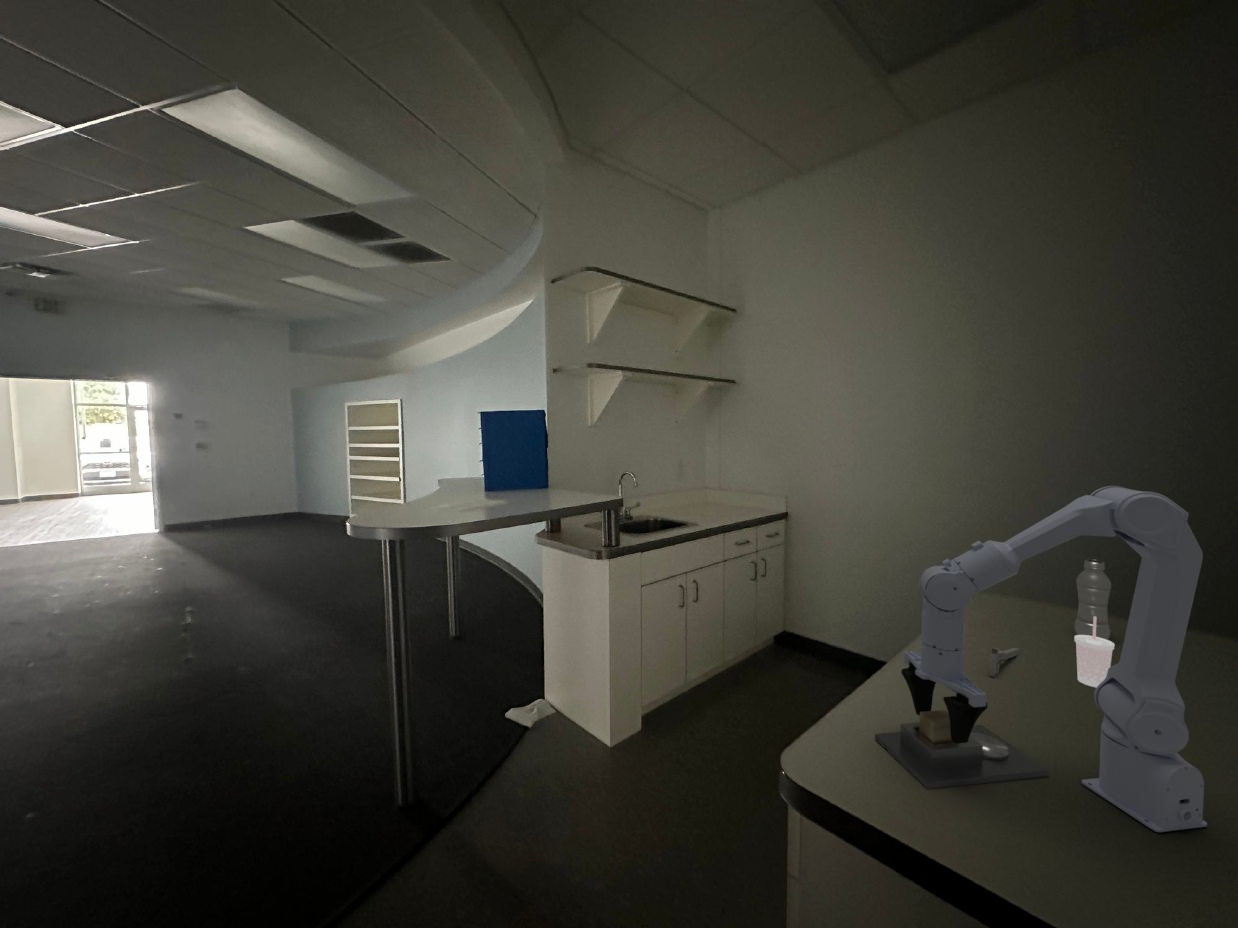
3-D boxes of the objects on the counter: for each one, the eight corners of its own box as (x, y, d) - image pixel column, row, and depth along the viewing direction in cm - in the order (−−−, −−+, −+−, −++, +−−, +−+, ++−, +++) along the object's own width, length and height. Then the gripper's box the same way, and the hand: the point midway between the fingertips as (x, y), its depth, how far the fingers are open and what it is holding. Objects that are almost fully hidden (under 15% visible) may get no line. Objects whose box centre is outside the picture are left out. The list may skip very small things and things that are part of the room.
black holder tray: (1048, 776, 75) (1049, 750, 75) (927, 788, 72) (927, 762, 72) (981, 730, 87) (981, 707, 86) (875, 739, 84) (875, 716, 84)
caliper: (994, 679, 105) (995, 650, 105) (988, 677, 106) (989, 649, 106) (1020, 653, 118) (1021, 627, 118) (1015, 651, 119) (1016, 625, 118)
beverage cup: (1117, 692, 99) (1120, 624, 98) (1076, 685, 102) (1079, 618, 101) (1107, 679, 104) (1110, 614, 103) (1069, 672, 107) (1071, 609, 107)
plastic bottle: (1083, 643, 122) (1086, 563, 121) (1068, 633, 129) (1070, 557, 128) (1116, 646, 121) (1119, 565, 120) (1098, 635, 127) (1101, 558, 126)
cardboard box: (958, 757, 78) (959, 720, 78) (932, 759, 77) (933, 722, 77) (944, 745, 81) (945, 709, 81) (918, 747, 80) (919, 711, 80)
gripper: (888, 627, 85) (887, 704, 86) (955, 665, 71) (953, 758, 71) (926, 625, 86) (924, 701, 86) (1000, 662, 71) (997, 753, 72)
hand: (940, 727), depth 79 cm, fingers open, 7 cm apart
